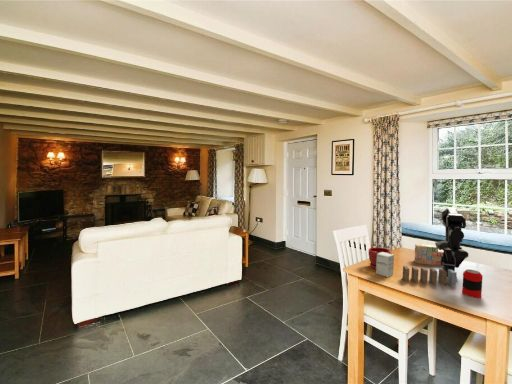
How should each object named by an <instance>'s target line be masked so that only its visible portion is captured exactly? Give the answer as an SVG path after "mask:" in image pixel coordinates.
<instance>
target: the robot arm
mask: <svg viewBox="0 0 512 384" xmlns="http://www.w3.org/2000/svg"><path fill="white" fill-rule="evenodd" d="M457 209H458V208H455V207H445V210H443V211H442V212H441V216H440V220H441V222H442V225H443V226H444V228H445V237H444V239H445V240H440V241H436V242H434V245H435V246H436V247H437V249H438V250H443V251H444V252H443V254H442V255H441V260H440V264H441V265H443V266H442V269H444V270H445V271H446V272H447V278H448V269H450V270H453V271H455V272H456V269H458V268H460V266H461V264H462V263H463V262H464V261H465V260H466V259H467V258H469V252H468V251H466V250H465V249H463V247H462V246H461V243H463V239H464V238H465V235H464V234H465V233H464V232H463V231H462V229H466V227H467V222H466V218H465V217H464V216H463V214H462V213H459V212H458V210H457ZM442 262H443V263H442ZM457 278H458V276H456V279H457Z"/></svg>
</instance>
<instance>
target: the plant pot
mask: <svg viewBox="0 0 512 384" xmlns="http://www.w3.org/2000/svg"><path fill="white" fill-rule="evenodd" d="M381 252H385V253H389V254H391V253H392V251H391V249H388V248H385V247H370V248H368V259H369V262H370V263H369V265H370V267H371V268H373V269H374V270H376V263H377V254H378V253H381Z"/></svg>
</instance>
